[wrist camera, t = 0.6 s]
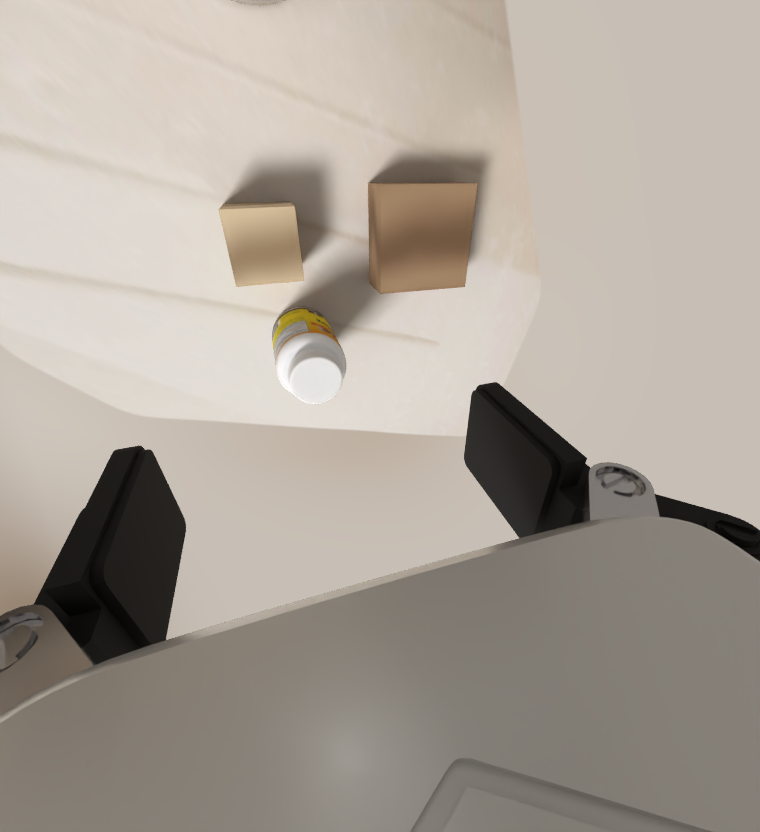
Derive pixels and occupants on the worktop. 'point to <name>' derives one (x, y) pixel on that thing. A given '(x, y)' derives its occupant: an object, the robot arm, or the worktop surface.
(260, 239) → the oak cube
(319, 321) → the supplement bottle
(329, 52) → the worktop surface
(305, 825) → the robot arm
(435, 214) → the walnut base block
